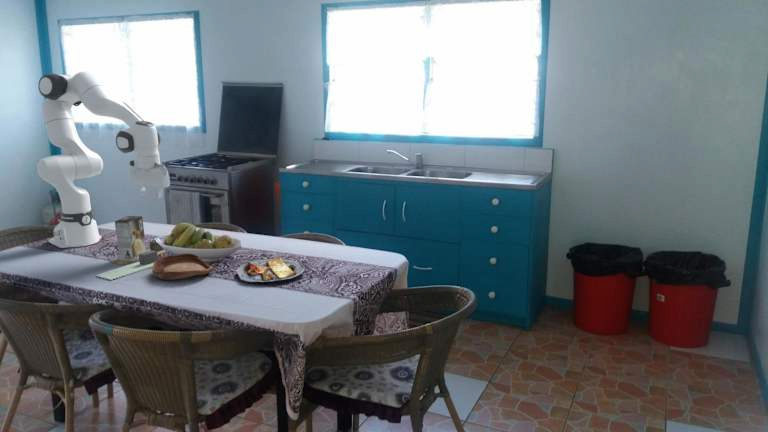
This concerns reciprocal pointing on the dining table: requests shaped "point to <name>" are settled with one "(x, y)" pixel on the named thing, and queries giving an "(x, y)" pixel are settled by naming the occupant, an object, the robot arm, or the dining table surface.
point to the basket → (180, 267)
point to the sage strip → (132, 266)
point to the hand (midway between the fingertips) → (151, 196)
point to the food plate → (269, 270)
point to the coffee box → (130, 237)
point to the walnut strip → (153, 246)
